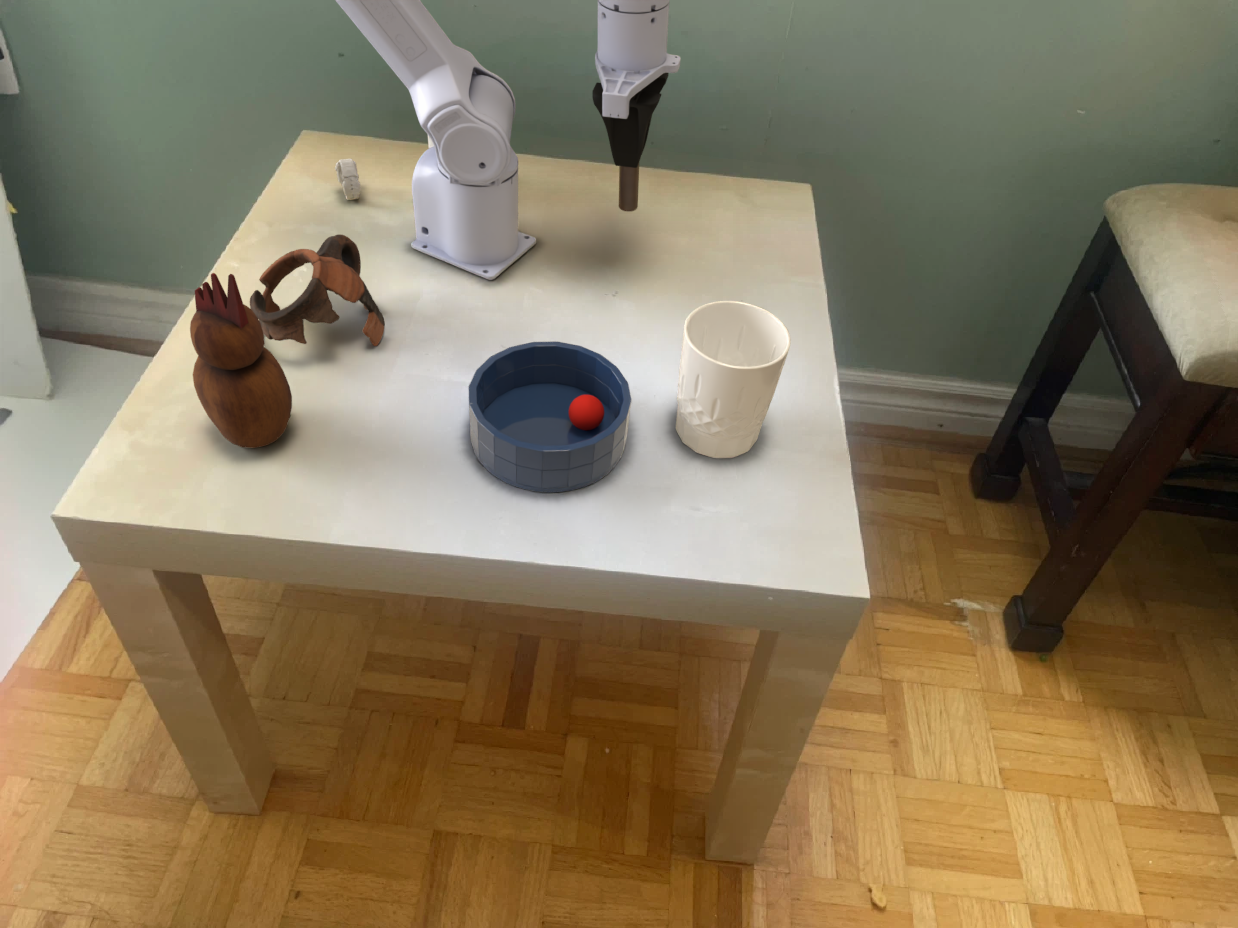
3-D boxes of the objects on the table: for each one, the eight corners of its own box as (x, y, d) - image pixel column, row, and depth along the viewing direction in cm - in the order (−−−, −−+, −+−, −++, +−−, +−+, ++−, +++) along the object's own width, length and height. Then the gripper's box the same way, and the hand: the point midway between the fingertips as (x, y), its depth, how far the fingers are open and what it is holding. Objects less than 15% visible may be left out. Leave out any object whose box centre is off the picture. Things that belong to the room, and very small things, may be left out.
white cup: (737, 480, 71) (762, 383, 63) (650, 436, 73) (664, 339, 66) (780, 422, 76) (807, 326, 68) (696, 384, 78) (715, 287, 71)
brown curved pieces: (381, 374, 76) (315, 315, 70) (293, 391, 80) (223, 337, 74) (409, 263, 82) (351, 199, 76) (326, 284, 86) (264, 224, 79)
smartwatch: (365, 205, 93) (360, 168, 90) (343, 207, 92) (337, 171, 89) (359, 187, 95) (354, 151, 92) (337, 189, 94) (332, 153, 91)
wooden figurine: (313, 436, 70) (276, 273, 59) (244, 472, 67) (191, 308, 56) (265, 390, 73) (221, 228, 62) (197, 423, 70) (139, 258, 59)
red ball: (561, 428, 72) (562, 402, 70) (579, 408, 74) (581, 382, 72) (591, 442, 72) (594, 416, 69) (609, 421, 73) (611, 396, 71)
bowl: (439, 450, 70) (435, 408, 67) (526, 364, 78) (526, 322, 75) (575, 516, 67) (578, 475, 64) (652, 419, 75) (658, 378, 71)
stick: (615, 208, 86) (617, 105, 79) (624, 199, 87) (626, 96, 80) (632, 213, 85) (635, 110, 78) (641, 204, 86) (645, 101, 79)
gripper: (669, 41, 67) (659, 205, 77) (696, -29, 77) (684, 125, 87) (575, 32, 68) (578, 195, 78) (613, -36, 78) (611, 117, 88)
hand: (629, 158), depth 82 cm, fingers closed on stick, 2 cm apart
